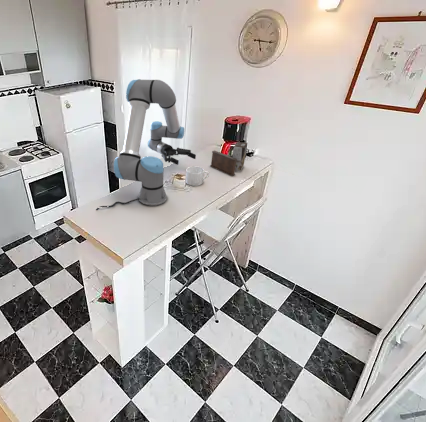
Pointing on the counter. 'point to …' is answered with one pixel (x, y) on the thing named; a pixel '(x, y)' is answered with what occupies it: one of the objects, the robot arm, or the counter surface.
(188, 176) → the mug
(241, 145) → the coffee box
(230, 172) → the wall board
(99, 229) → the counter surface
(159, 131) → the robot arm
